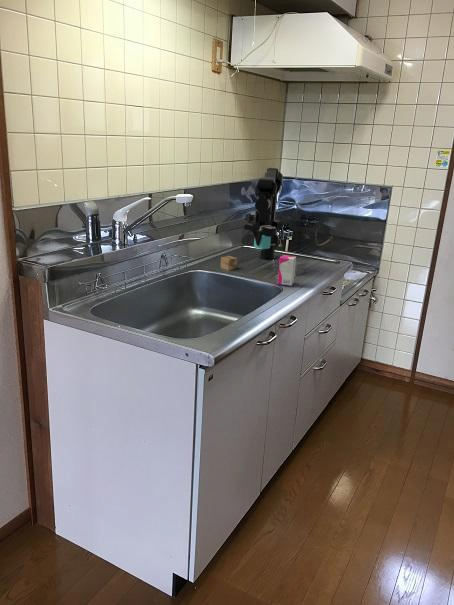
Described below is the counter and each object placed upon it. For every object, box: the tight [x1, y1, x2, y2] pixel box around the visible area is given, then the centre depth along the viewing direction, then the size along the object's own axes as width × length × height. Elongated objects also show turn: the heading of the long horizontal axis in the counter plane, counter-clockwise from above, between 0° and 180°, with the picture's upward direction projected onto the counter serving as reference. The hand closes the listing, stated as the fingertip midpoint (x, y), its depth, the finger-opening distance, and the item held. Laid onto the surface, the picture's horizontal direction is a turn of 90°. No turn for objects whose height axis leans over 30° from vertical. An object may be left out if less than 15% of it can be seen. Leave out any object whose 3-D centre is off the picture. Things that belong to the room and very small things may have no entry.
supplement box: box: [277, 254, 297, 288], centre depth 200 cm, size 6×6×12 cm
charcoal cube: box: [295, 260, 305, 276], centre depth 218 cm, size 5×5×5 cm
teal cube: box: [253, 235, 271, 250], centre depth 216 cm, size 5×5×5 cm
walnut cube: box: [220, 255, 238, 271], centre depth 220 cm, size 5×5×5 cm
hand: (262, 244), depth 217 cm, fingers closed on teal cube, 5 cm apart
